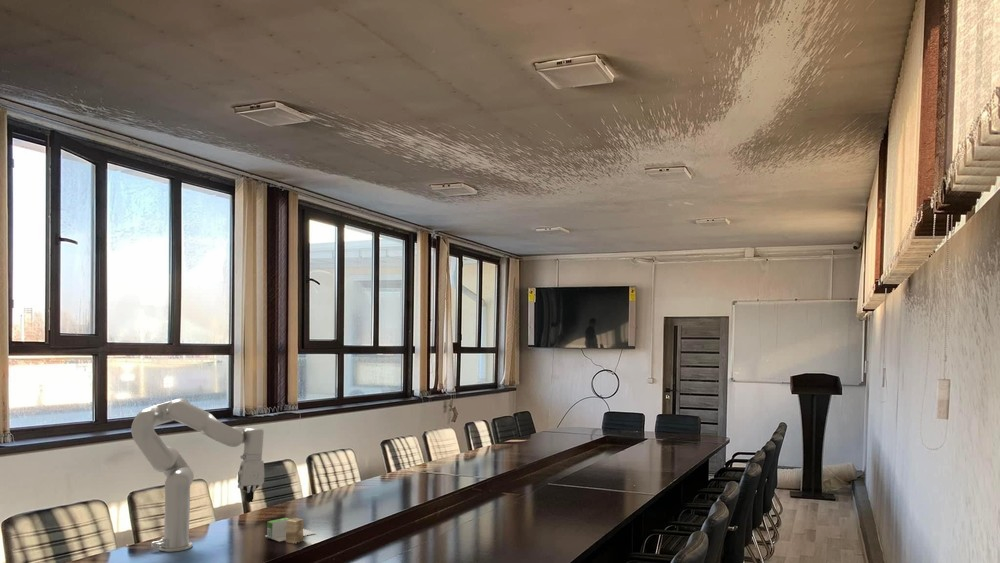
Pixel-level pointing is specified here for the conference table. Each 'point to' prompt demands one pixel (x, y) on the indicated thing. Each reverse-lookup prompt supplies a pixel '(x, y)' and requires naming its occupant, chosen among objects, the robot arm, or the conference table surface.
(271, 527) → the ink box
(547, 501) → the conference table surface
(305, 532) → the felt mat
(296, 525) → the oak block
